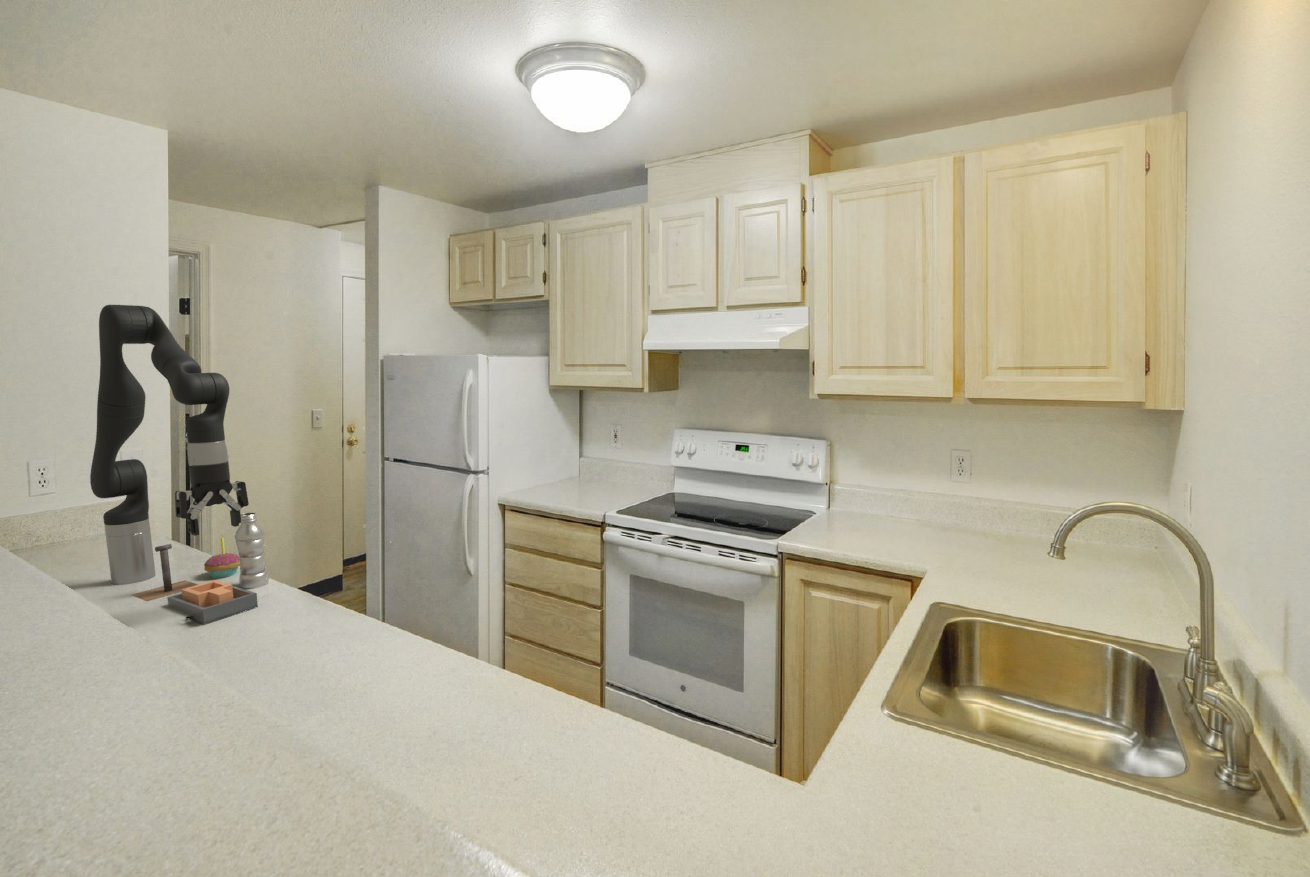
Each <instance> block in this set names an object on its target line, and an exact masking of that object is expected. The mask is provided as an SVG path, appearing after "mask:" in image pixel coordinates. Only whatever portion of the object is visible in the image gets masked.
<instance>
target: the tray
mask: <svg viewBox="0 0 1310 877" xmlns="http://www.w3.org/2000/svg"><path fill="white" fill-rule="evenodd" d="M232 588H233V597H234V599H232V600H229V601H226V602H223V603H219V604H216V605H213V606H210V607H206V608H203V607H201V606H198V605H195V604H192V603H189V602H187V601H184V600H183V599H182V592H179V593H176V594H172V595H169V596H166V597H167V605H168V606H169V607H172V608H174V609H177V610H179V611H182V612H185V613H188V614H189V615H188V616H185V618H186V619H189V620H191V621H192V622H193V621H194V622H196V623H199V624H201V625H204V626H205V625H207V624H211V623H214V622H218V621H220V620H223V619H227V618H229V617H232V615H233V616H235V615H234V614H236V615H239V614H241V613H240V612H242V613H244V612H243V611H245V610H248V611H251V610H254V609H256V608H255V607H257V608H258V607H259V605H258V594H257V592H254V591H251V590H249V589H242V588H241V587H237V586H236V585H232ZM235 597H236V598H235ZM253 608H254V609H253ZM250 609H251V610H250ZM245 612H246V611H245ZM238 613H239V614H238Z"/></svg>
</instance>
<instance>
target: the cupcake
mask: <svg viewBox="0 0 1310 877" xmlns="http://www.w3.org/2000/svg"><path fill="white" fill-rule="evenodd" d="M224 538H225V537H224V536H223V534H221V537H220V546H221V547H220V548H221V553H219V554H215V555H213V556H211V557H209V558H208V559H207V560H206V561H205V562H204V564H203V566H204V571H205V572H207V573H208V574H209V575H210V576H211V578H213V579H219V578H220V579H222V578H227V577H231V576H233V575H236V573H237V571H238V568H239V567H240V556H239V555H238V554H235V553H226V550H225V539H224Z"/></svg>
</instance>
